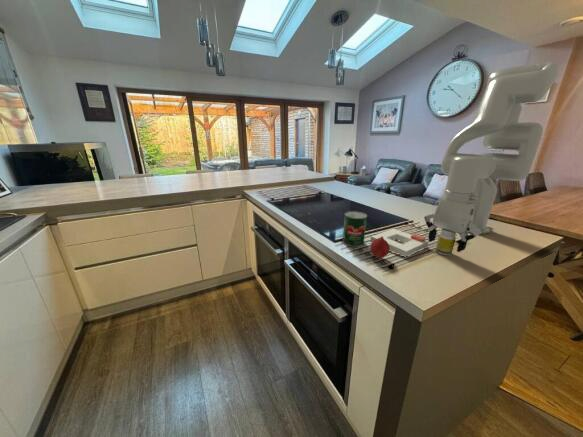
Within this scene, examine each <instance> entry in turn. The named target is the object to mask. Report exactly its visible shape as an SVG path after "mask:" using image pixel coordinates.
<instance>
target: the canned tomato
mask: <svg viewBox="0 0 583 437" xmlns="http://www.w3.org/2000/svg"><path fill="white" fill-rule="evenodd" d="M367 218H368V215H367V213H365V212H361V211H357V210H352V211H351V210H350V211H347V212H344V218H343V219H344V220H343V231H342V233H343V234H342V243H343V244H344V245H346V246H350V247H362V246H363V245H364V244H365V235H366V228H367V227H366V226H367ZM361 245H362V246H361Z"/></svg>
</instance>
